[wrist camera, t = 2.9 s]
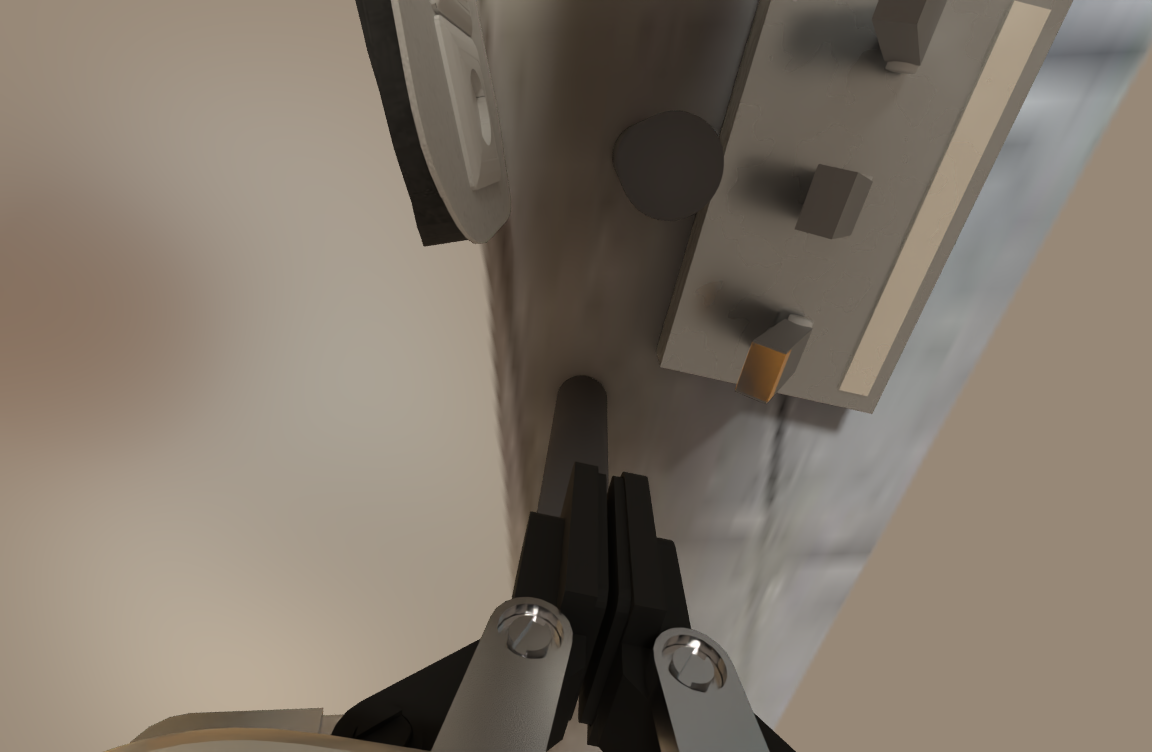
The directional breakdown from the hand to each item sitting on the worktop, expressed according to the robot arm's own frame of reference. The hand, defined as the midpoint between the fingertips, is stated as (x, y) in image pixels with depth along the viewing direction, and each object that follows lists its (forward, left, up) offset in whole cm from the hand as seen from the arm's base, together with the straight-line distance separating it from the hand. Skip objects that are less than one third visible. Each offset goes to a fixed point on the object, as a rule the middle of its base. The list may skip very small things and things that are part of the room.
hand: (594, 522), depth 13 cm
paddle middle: (-7, +10, -17) cm, 21 cm away
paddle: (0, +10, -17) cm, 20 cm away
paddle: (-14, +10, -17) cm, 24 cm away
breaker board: (-7, +10, -20) cm, 24 cm away
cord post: (+7, 0, -20) cm, 21 cm away
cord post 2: (-7, 0, -20) cm, 22 cm away
